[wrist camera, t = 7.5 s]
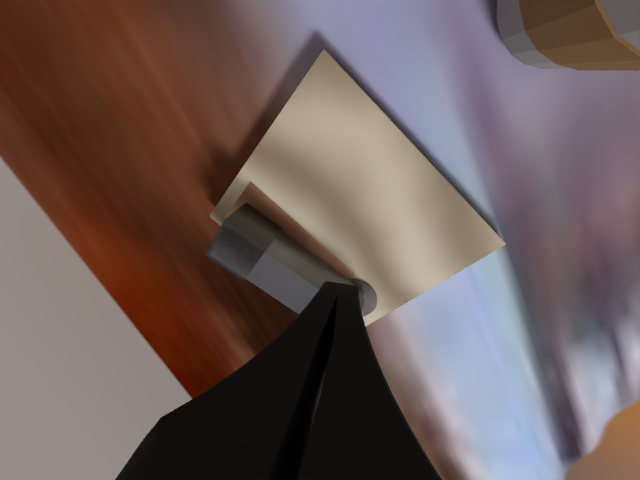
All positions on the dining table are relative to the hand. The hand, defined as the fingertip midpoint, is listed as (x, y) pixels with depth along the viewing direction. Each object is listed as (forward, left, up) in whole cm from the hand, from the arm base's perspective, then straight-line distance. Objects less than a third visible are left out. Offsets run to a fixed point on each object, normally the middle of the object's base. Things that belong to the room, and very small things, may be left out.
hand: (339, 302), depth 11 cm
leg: (-6, 0, -8) cm, 10 cm away
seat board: (-1, 0, -10) cm, 10 cm away
